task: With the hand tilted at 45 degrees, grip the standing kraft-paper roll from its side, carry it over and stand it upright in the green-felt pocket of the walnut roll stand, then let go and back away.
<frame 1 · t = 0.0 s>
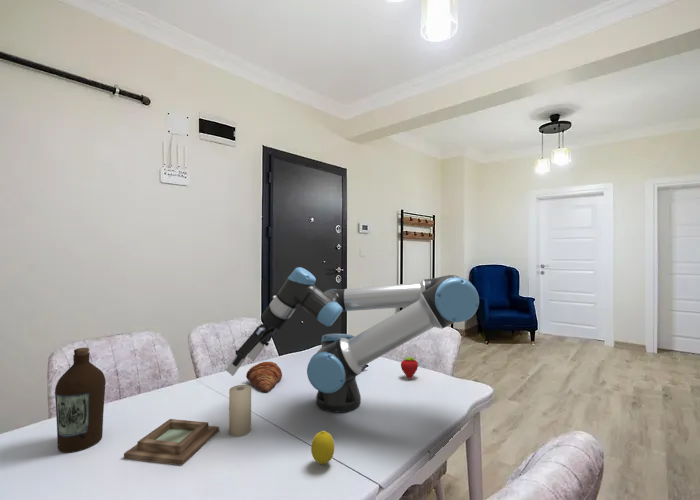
hand: (240, 365, 108), 15 cm above the table, tool tilted 35°, fingers open, 13 cm apart
lemon: (322, 465, 82), on the table
walnut roll stand: (174, 443, 91), on the table
kraft paper roll: (240, 430, 98), on the table
strawberry: (409, 378, 139), on the table
brown bottle: (80, 443, 91), on the table
pastry: (265, 383, 134), on the table
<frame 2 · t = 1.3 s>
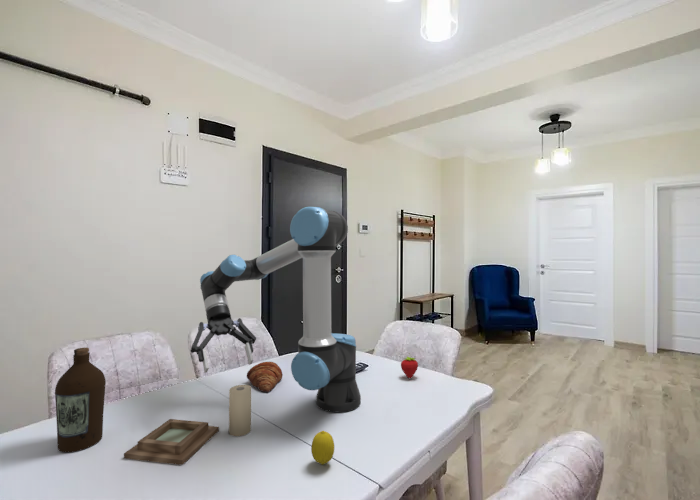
hand: (229, 366, 106), 16 cm above the table, tool tilted 45°, fingers open, 13 cm apart
nothing on the table moved.
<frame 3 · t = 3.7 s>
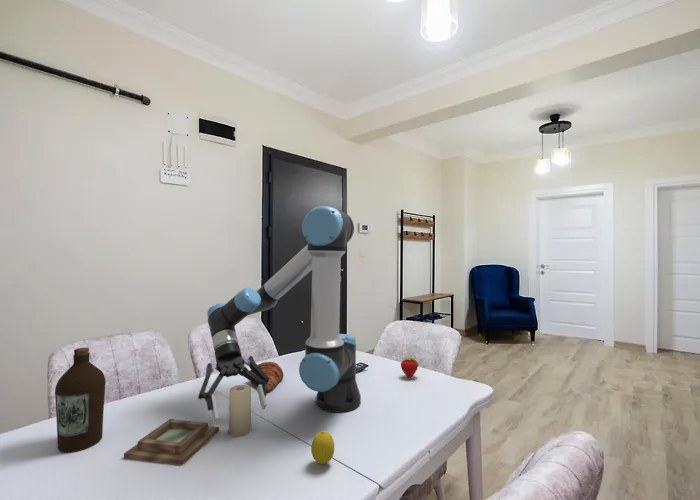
hand: (241, 413, 96), 6 cm above the table, tool tilted 45°, fingers open, 13 cm apart
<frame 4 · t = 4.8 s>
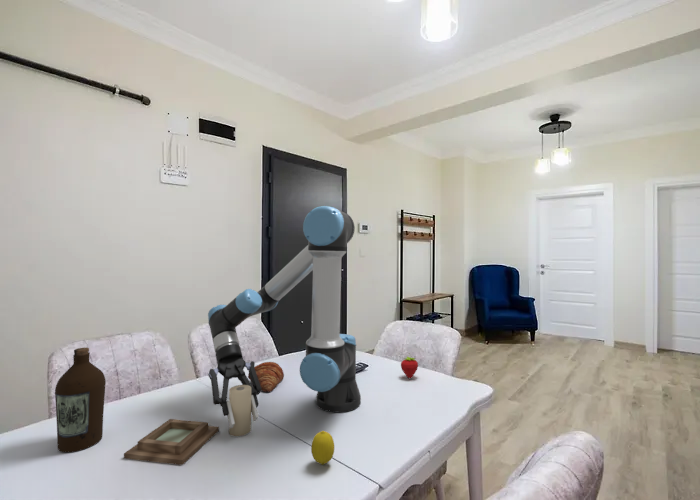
hand: (244, 422, 95), 4 cm above the table, tool tilted 45°, fingers closed on kraft paper roll, 6 cm apart
kraft paper roll: (240, 430, 98), on the table, touching gripper
everything else where it was.
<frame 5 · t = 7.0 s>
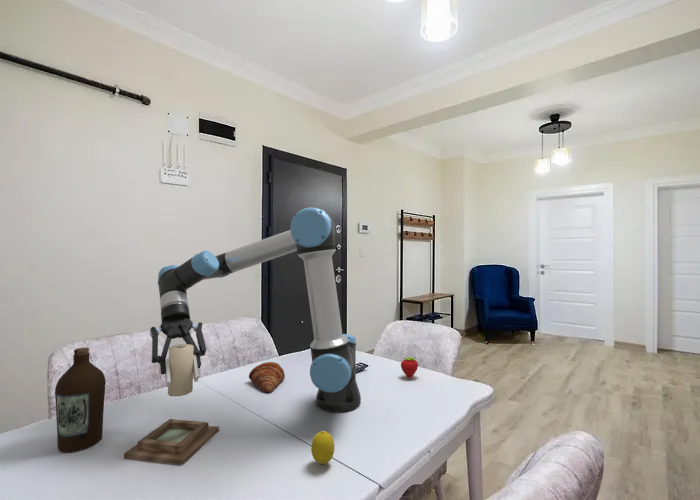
hand: (182, 381, 89), 17 cm above the table, tool tilted 45°, fingers closed on kraft paper roll, 6 cm apart
kraft paper roll: (180, 391, 92), point 13 cm above the table, touching gripper
when the fingers open (6 cm above the table, at t = 9.4 s): kraft paper roll drops 1 cm, resting on walnut roll stand.
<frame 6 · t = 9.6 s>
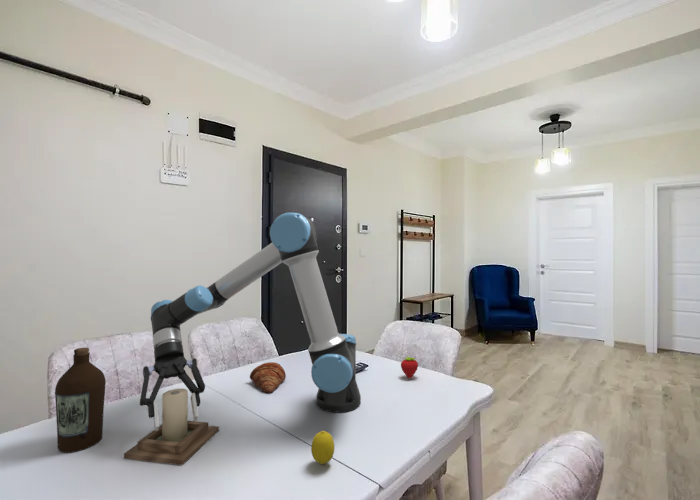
hand: (177, 423, 88), 7 cm above the table, tool tilted 45°, fingers open, 8 cm apart
kraft paper roll: (174, 438, 91), point 1 cm above the table, touching walnut roll stand
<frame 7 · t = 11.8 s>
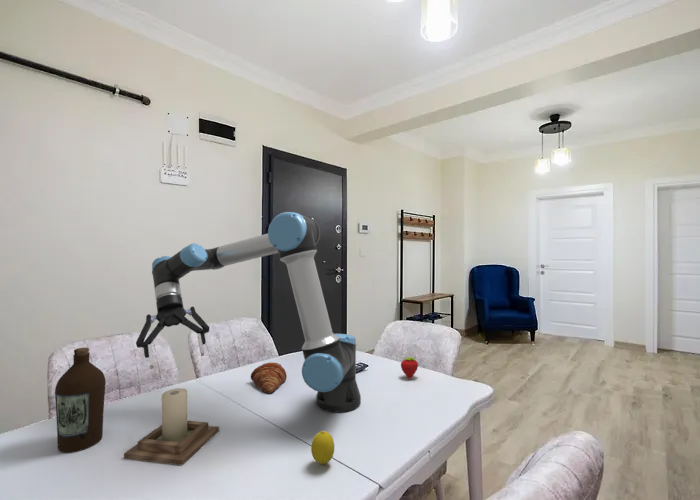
hand: (178, 360, 102), 19 cm above the table, tool tilted 35°, fingers open, 13 cm apart
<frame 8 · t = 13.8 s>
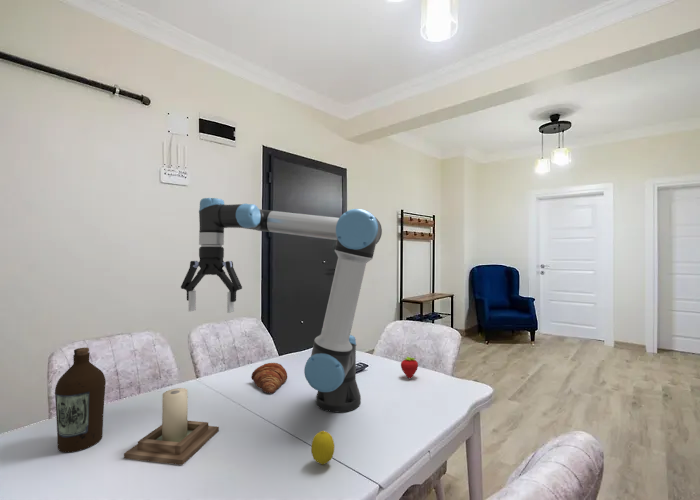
hand: (211, 311, 111), 32 cm above the table, tool pointing down, fingers open, 13 cm apart
at the end: kraft paper roll inside the target area on the walnut roll stand (0.1 cm from its centre), point 1.5 cm above the walnut roll stand's base; kraft paper roll tilted 1°; the gripper is holding nothing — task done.
